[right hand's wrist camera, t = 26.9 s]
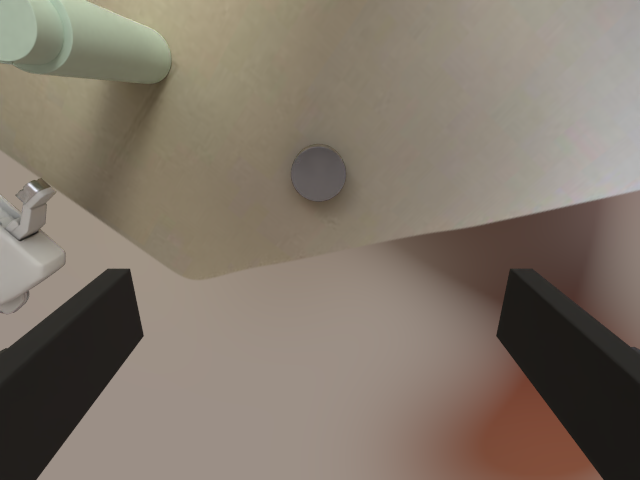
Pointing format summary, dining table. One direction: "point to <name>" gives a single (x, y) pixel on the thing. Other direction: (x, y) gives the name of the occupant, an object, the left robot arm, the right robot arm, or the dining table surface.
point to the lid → (318, 172)
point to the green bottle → (80, 42)
